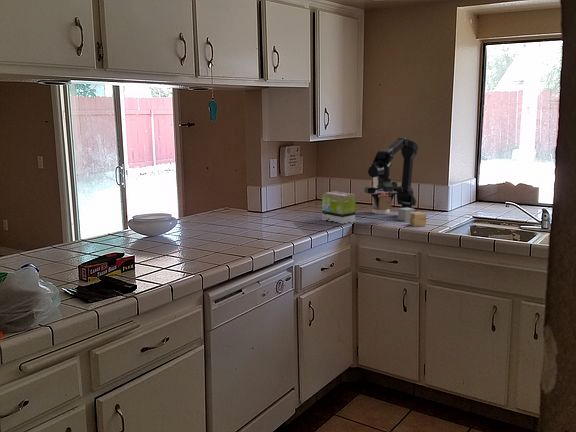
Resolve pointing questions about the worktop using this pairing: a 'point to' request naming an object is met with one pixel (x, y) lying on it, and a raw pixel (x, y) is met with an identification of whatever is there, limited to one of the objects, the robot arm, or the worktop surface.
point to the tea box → (338, 207)
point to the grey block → (404, 213)
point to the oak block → (418, 218)
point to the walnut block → (384, 202)
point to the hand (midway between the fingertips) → (383, 206)
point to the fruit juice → (381, 193)
